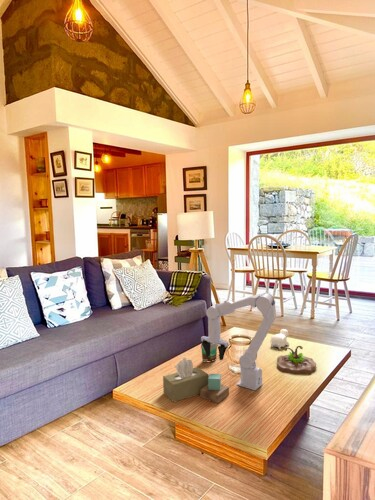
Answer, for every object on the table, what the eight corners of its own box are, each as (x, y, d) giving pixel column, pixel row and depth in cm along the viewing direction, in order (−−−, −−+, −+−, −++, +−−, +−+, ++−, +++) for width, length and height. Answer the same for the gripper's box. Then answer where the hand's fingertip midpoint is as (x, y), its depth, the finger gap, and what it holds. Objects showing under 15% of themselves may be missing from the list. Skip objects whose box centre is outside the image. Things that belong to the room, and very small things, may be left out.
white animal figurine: (283, 354, 210) (293, 338, 220) (280, 342, 207) (291, 327, 217) (270, 351, 216) (280, 336, 226) (267, 339, 213) (278, 325, 223)
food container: (210, 365, 190) (210, 346, 189) (201, 362, 194) (200, 344, 193) (222, 357, 200) (222, 340, 199) (213, 355, 204) (213, 338, 203)
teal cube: (220, 384, 160) (220, 374, 160) (220, 390, 155) (219, 379, 155) (209, 384, 161) (209, 373, 160) (208, 389, 156) (208, 378, 156)
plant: (317, 376, 174) (317, 354, 173) (276, 372, 180) (276, 351, 179) (315, 360, 194) (315, 340, 193) (277, 357, 199) (277, 337, 198)
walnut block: (228, 395, 158) (228, 387, 158) (217, 404, 151) (217, 395, 151) (211, 390, 164) (211, 381, 163) (200, 398, 157) (200, 389, 156)
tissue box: (198, 382, 171) (197, 350, 169) (209, 391, 162) (209, 357, 161) (162, 393, 161) (161, 359, 160) (173, 403, 153) (172, 367, 151)
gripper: (231, 330, 171) (232, 358, 172) (206, 325, 180) (207, 352, 181) (223, 334, 165) (224, 363, 167) (198, 329, 174) (198, 356, 175)
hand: (214, 357), depth 173 cm, fingers open, 7 cm apart
